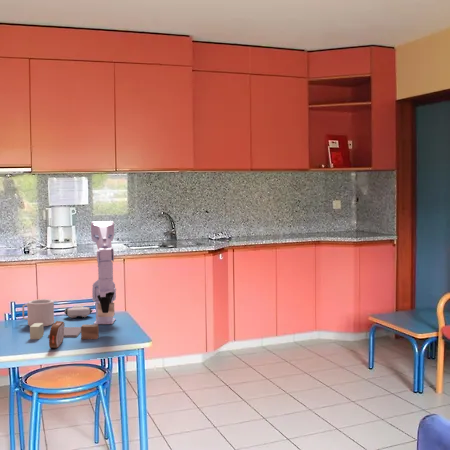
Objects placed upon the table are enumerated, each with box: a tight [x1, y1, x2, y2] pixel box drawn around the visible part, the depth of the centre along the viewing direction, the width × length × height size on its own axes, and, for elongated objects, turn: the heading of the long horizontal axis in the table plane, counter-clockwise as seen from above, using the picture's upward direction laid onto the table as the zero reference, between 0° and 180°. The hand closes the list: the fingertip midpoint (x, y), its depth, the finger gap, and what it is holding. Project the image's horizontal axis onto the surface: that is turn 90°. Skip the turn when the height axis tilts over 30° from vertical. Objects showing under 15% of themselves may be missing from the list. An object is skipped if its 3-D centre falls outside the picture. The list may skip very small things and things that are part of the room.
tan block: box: [98, 302, 115, 318], centre depth 232 cm, size 4×6×5 cm, turn 92°
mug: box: [21, 298, 55, 327], centre depth 247 cm, size 14×11×10 cm
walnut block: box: [80, 323, 100, 340], centre depth 224 cm, size 4×6×5 cm, turn 92°
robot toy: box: [64, 305, 94, 319], centre depth 264 cm, size 12×4×15 cm
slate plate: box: [48, 326, 81, 338], centre depth 232 cm, size 13×11×1 cm
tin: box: [48, 320, 65, 349], centre depth 214 cm, size 15×3×8 cm, turn 4°
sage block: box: [29, 323, 45, 340], centre depth 226 cm, size 4×6×5 cm, turn 2°
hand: (106, 311), depth 232 cm, fingers closed on tan block, 3 cm apart
